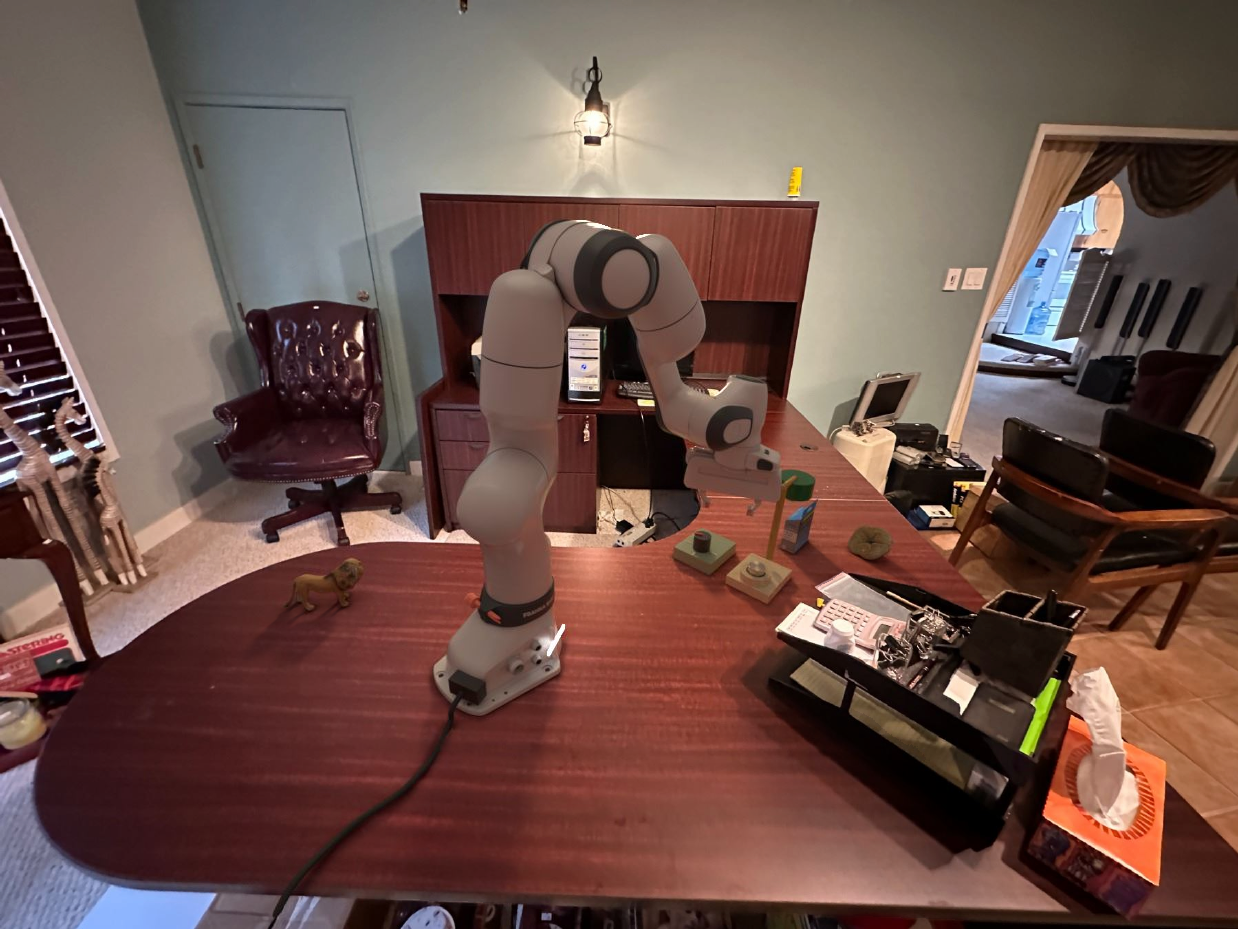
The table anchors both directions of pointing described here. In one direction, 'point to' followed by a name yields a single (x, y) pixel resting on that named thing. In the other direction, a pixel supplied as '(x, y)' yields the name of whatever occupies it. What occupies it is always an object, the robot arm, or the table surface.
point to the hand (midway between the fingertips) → (727, 511)
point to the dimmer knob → (702, 541)
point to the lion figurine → (328, 583)
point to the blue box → (797, 528)
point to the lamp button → (756, 569)
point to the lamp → (792, 489)
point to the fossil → (870, 542)
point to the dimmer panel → (705, 561)
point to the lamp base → (759, 578)
